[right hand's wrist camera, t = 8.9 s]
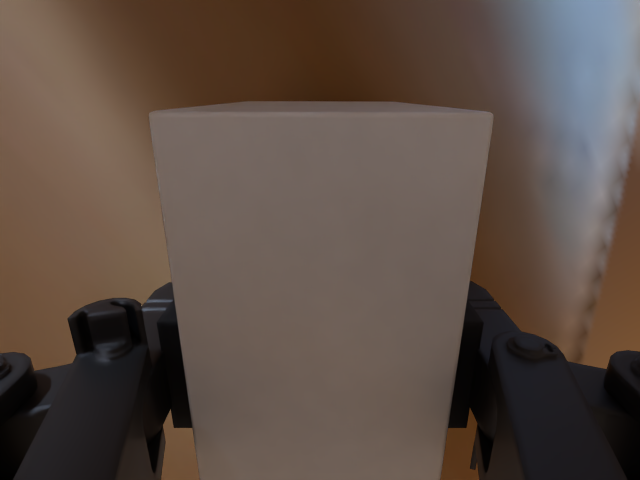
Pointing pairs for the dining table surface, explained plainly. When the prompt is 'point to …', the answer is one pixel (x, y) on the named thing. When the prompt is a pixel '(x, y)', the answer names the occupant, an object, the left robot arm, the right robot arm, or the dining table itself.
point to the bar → (320, 280)
